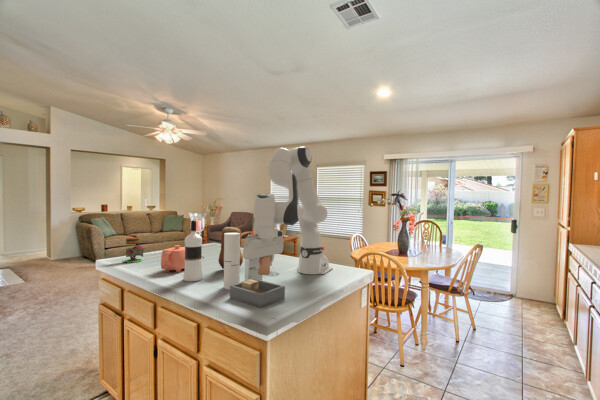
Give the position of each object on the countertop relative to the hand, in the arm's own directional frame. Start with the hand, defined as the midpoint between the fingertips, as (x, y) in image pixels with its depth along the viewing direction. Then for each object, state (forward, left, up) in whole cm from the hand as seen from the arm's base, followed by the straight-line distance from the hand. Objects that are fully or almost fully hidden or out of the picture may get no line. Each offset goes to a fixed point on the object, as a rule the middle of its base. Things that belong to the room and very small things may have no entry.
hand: (263, 267), depth 118 cm
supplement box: (-16, -23, -14) cm, 31 cm away
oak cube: (0, -8, -12) cm, 15 cm away
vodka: (+1, -49, -14) cm, 51 cm away
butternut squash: (-23, -49, -14) cm, 56 cm away
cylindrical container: (-3, -24, -14) cm, 28 cm away
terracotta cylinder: (0, 0, -3) cm, 3 cm away
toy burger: (+1, -116, -14) cm, 117 cm away
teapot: (-5, -74, -14) cm, 75 cm away
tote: (0, -4, -13) cm, 14 cm away
